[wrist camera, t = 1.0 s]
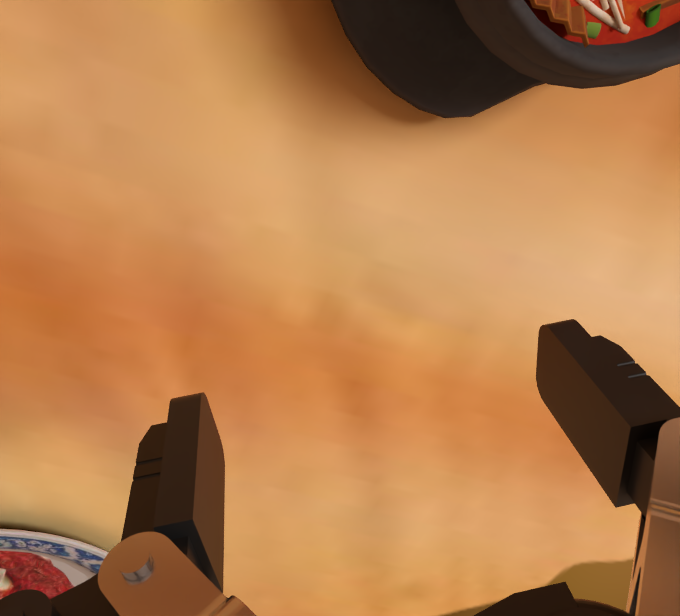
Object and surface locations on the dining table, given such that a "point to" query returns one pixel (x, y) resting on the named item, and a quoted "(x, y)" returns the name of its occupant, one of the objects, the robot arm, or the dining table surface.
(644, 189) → the dining table surface
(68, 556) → the ceramic plate
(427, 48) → the casserole
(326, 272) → the dining table surface
